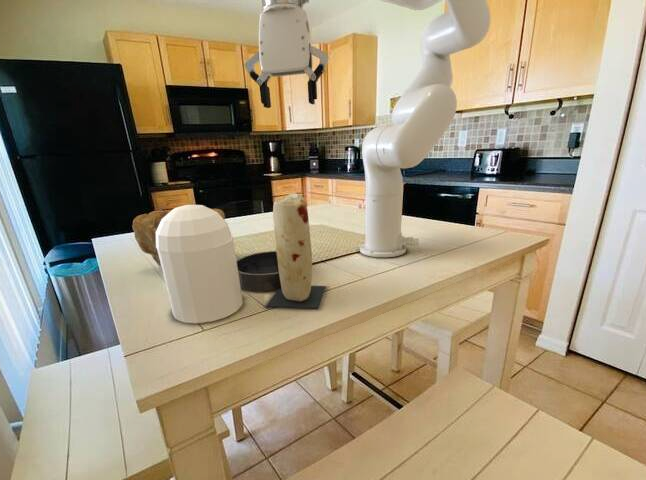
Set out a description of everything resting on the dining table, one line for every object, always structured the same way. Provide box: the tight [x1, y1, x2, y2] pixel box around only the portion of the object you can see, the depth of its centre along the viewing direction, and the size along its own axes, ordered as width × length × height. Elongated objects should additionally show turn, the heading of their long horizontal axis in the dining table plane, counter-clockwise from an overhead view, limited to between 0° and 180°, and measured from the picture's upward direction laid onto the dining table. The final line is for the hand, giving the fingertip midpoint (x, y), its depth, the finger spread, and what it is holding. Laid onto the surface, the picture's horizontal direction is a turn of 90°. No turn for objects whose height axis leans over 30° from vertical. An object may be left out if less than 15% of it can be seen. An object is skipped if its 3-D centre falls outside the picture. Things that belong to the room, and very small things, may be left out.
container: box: [156, 204, 243, 324], centre depth 63 cm, size 13×13×20 cm
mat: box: [266, 285, 327, 310], centre depth 68 cm, size 10×10×1 cm
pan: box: [236, 250, 281, 293], centre depth 78 cm, size 16×16×4 cm
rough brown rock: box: [131, 208, 226, 268], centre depth 85 cm, size 23×17×15 cm
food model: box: [272, 192, 313, 301], centre depth 64 cm, size 10×7×20 cm
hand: (289, 105), depth 70 cm, fingers open, 9 cm apart
